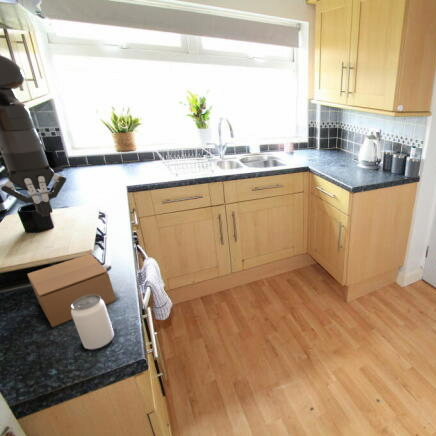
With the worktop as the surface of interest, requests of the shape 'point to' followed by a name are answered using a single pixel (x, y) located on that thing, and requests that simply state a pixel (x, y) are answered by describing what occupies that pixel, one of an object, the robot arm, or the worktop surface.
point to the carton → (72, 291)
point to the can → (92, 321)
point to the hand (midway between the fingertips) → (46, 215)
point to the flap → (61, 268)
